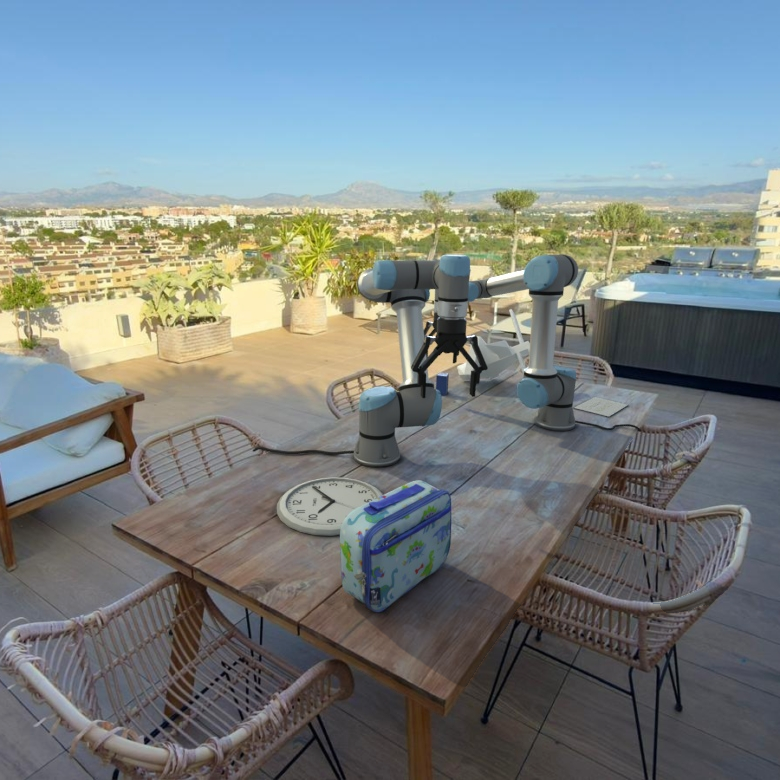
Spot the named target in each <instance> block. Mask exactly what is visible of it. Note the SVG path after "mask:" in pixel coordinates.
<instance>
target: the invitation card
mask: <svg viewBox="0 0 780 780" xmlns="http://www.w3.org/2000/svg"><path fill="white" fill-rule="evenodd" d="M628 406H629V404H627V403H623V402H618V401H614V400H609V399H605V398H601V397H596V396H593V397H592V398H590V399H588V400H586V401H584V402H582V403H580V404H578V405H575V406H574V407H573V409H575V410H581V411H584V412H587V413H593V414H596V415H600V416H604V417H608V418H609V417H611V416H613V415H614V414H616V413H617V412H619V411H621V410H623V409H624V408H626V407H628Z"/></svg>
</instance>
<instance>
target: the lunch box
mask: <svg viewBox="0 0 780 780" xmlns="http://www.w3.org/2000/svg"><path fill="white" fill-rule="evenodd" d="M383 494H384V495H382V496H380V497H378V498H376V499H374V500H372V501H370V502H368V503H366V504H364V505H362V506H360V507H358V508H356V509H354V510H353V511H351V512H350V513H349V514H348V515H347V516H346V518H345V519H344V521H343V523H342V526H341V530H340V535H339V551H340V574H341V576H340V577H341V585H342V588H343V589H342V590H343V591H344V593H346V594H348V595H350V596H352V597H353V598H355V599H357V600H358V601H359V602H361V603H362V604H364V605H365V606H366V608H367V609H369V610H370V611H371V612H374V613H381V612H384V611H385V610H386V609H387V608H389V607H390V606H391V605H392V604H393V603H395V602H396V601H397V600H399V599H400V598H401V597H402V596H404V595H405V594H407V593H408V592H410V591H411V590H412V589H413V588H415V587H416V586H417V585H418V584H419V583H420V582H421V581H423V580H425V579H426V578H427V577H429V576H430V575H432V574H434V573H435V572H436V571H438V570H439V569H440V568H441V567H442V566H443V565H444V563H445V562H446V560H447V558H448V556H449V553H450V550H451V549H450V548H451V545H452V543H451V542H452V497H451V494H450V492H449V491H448V490H446V489H438V488H437V487H435V486H434V485H431V484H429V483H427V482H426V481H424V480H421V479H416V480H413V481H410V482H408V483H405V484H403V485H401V486H399V487H397V488H394V489H393V490H390V491H388V492H387V493H383Z"/></svg>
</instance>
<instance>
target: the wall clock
mask: <svg viewBox="0 0 780 780" xmlns="http://www.w3.org/2000/svg"><path fill="white" fill-rule="evenodd" d="M384 494H385V493H383V492H382V491H381V490H380V489H379V488H377V487H376V486H374V485H372V484H371V483H369V482H365V481H362V480H359V479H355V478H349V477H338V476H337V477H335V476H333V477H332V476H331V477H322V478H317V479H312V480H307V481H305V482H302V483H299V484H297V485H295V486H293V487H292V488H290V489H288V490H287V491H286V492H285V493H284V494H283V495H281V496H280V498H279V499H278V502H277V503H276V515H277V517H278V518H279V520H280V521H281V522H282V523H283V524H285V525H286V526H287V527H288V528H290V529H293V530H295V531H297V532H299V533H303V534H308V535H312V536H327V537H328V536H329V537H331V536H332V537H333V536H340V530H341V526H342V523H343V521H344V519H345V518H346V516H347V515H348V514H349V513H350V512H351V511H353V510H354V509H356V508H358V507H360V506H362V505H364V504H366V503H368V502H370V501H372V500H374V499H376V498H378V497H380V496H382V495H384Z"/></svg>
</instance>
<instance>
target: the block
mask: <svg viewBox="0 0 780 780" xmlns="http://www.w3.org/2000/svg"><path fill="white" fill-rule="evenodd" d="M449 376H450V374H449V373H445V372H438V373H437V374H436V379H435V389H437V390H439V391H440V393H441V396H446V395H447V394H448V393H449V378H450V377H449Z"/></svg>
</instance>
